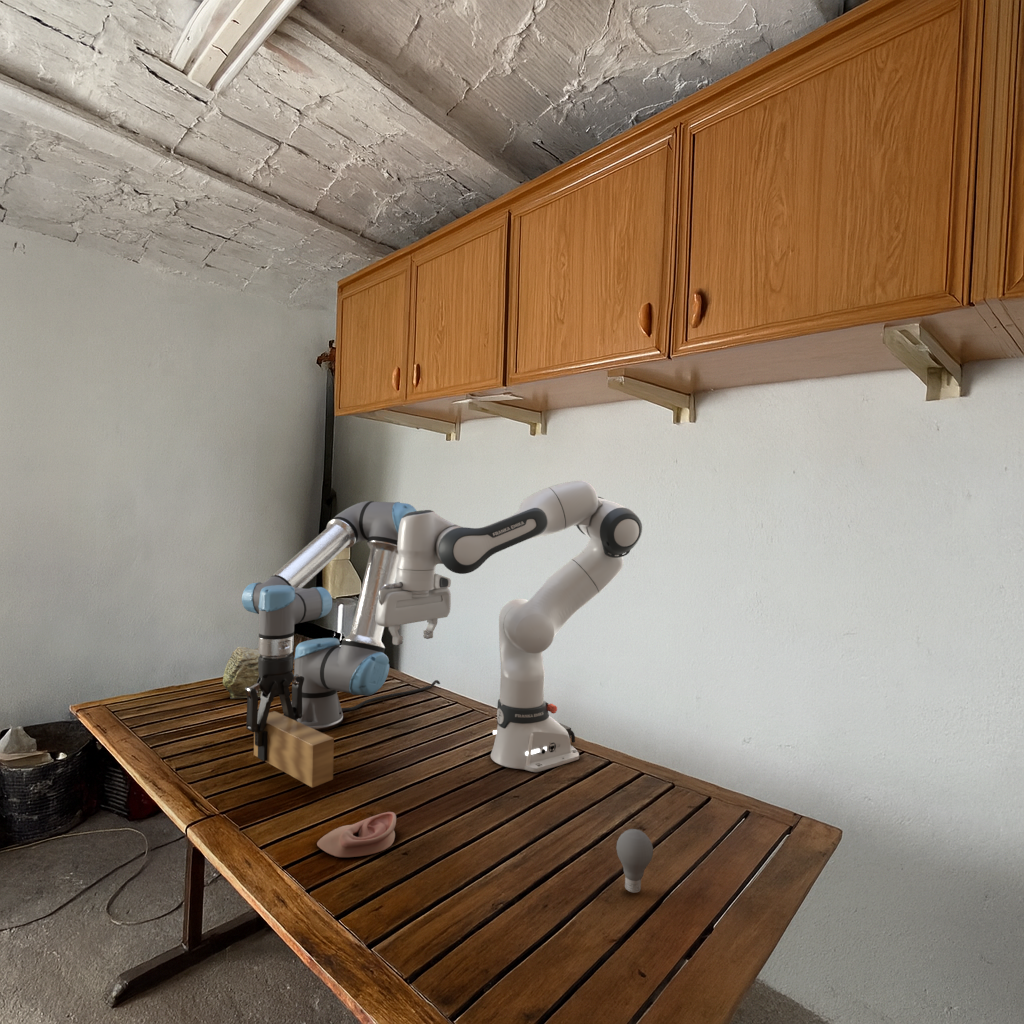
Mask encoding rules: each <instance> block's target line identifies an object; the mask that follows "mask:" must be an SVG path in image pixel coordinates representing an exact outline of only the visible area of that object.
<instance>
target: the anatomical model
mask: <svg viewBox="0 0 1024 1024" xmlns="http://www.w3.org/2000/svg"><path fill="white" fill-rule="evenodd" d="M396 824H397V814H396V813H395V812H393V811H387V812H382V813H379V814H376V815H373V816H370V817H367V818H365V819H363V820H360V821H358V822H354V823H352V824H346V825H342V826H339V827H337V828H334V829H332V830H331V831H329V832H328V833H326V834H324V835H323V836H322V837H321V838H320V839H319V840H317V842H316V845H317V847H318V848H319V849H320V850H322V851H323V852H325V853H327V854H329V855H331V856H334V857H336V858H354V857H355V858H356V857H364V856H369V855H374V854H377V853H379V852H383V851H385V850H386V849H388V848H390V847H391V846H392V845H393V844H394V842H395V838H396V832H395V827H396Z"/></svg>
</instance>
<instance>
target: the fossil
mask: <svg viewBox="0 0 1024 1024" xmlns="http://www.w3.org/2000/svg"><path fill="white" fill-rule="evenodd" d="M259 656H260V654H259V653H258V648H251V647H247V646H246V647H245V646H238V647H237V648H236V649H235V650H233V651H232V653H231V656H230V657H229V659H228V660H227V663H226V666H225V668H224V671H223V675H222V676H223V677H222V685H223V687H224V688H225V690H226V691H228V693H229V698H230V699H247V694H246V691H245V688H246V687H247V686H249V687H251V686H253V685H255V684H256V683H257V680H258V678H259V672H258V658H259ZM261 692H262V691H261V689H259V694H258V698H260V696H261Z"/></svg>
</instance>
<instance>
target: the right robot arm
mask: <svg viewBox="0 0 1024 1024" xmlns="http://www.w3.org/2000/svg"><path fill="white" fill-rule="evenodd" d="M572 527H576V528H577V529H578V530H579V532H580V533H581V534H583V535H585V536H586V537H587V538H589V539H588V541H587V544H586V546H585V547H584V548H583V549H582V550H581V551H580V552H579V553H578V554H576V555H575V556H574V557H572V558H570V559H569V560H568V561H567V562H566V563H565V564H563V565H562V566H560V567H559V569H557V570H556V571H554V572H553V573H551V575H549V576H548V577H547V578H546V579H545V581H544V583H543V584H542V585H541V587H540V588H539V589H538V590H537V591H536V592H535V594H534V595H533V596H532V597H531V598H530V599H526V598H514V599H511V600H507V602H505V603H504V604H503V606H502V607H501V608H500V611H499V614H498V636H499V637H498V638H499V639H498V640H499V642H498V643H499V661H500V681H499V699H498V700H497V708H496V723H497V724H496V725H497V727H496V730H492V735H495V736H494V737H495V738H494V743H493V746H492V749H491V752H490V759H491V760H492V761H493V762H494V763H496V764H497V765H500V766H501V767H505V768H510V769H517V770H525V771H528V772H531V773H540V772H542V771H543V772H544V771H546V770H549V769H552V768H556V767H559V766H563V765H565V764H569V763H573V762H575V761H578V760H579V759H580V753H579V751H578V750H577V749H576V748H575V747H574V746H573V745H572V744H571V743H573V744H574V743H576V735H575V733H574V731H573V730H572V727H569V726H567V725H565V724H563V723H561V722H558V721H557V720H556V719H554V718H553V717H552V716H551V715H550V713H551V714H553V715H554V714H556V713H557V712H558V706H556V705H555V704H553V703H549V702H548V701H545V700H544V697H545V679H546V678H545V676H546V670H545V666H544V658H543V656H544V655H543V652H544V651H546V650H547V649H548V648H549V647H550V646H551V645H552V643H553V641H554V638H555V637H556V636H557V634H558V633H559V632H560V631H561V630H562V629H563V628H564V627H565V625H566V624H567V623H568V622H569V620H570V619H571V618H572V617H573V616H574V615H575V614H576V613H577V612H578V611H580V610H581V609H582V608H583V607H584V606H586V605H587V604H588V603H589V602H590V601H591V600H593V599H594V598H595V597H596V596H597V595H599V594H600V593H601V592H602V591H604V589H606V587H608V586H609V585H610V584H611V583H612V582H613V581H614V580H615V578H616V577H617V576H618V575H619V574H620V572H621V571H622V570H623V568H624V563H625V562H624V557H625V556H627V555H629V554H630V552H631V550H632V549H633V548H634V547H635V546H636V545H637V544H638V542H639V540H640V539H641V536H642V534H643V523H642V521H641V519H640V517H638V515H637V514H636V513H635V512H634V511H633V510H632V509H629V508H627V507H625V506H624V505H622V504H620V503H618V502H616V501H612V500H609V499H605V498H603V497H601V496H598V493H597V491H596V489H595V487H594V486H593V485H592V484H591V483H590V482H588V481H586V480H582V479H578V480H577V479H576V480H570V481H565V482H563V483H558V484H555V485H551V486H548V487H545V488H543V489H540V490H538V491H536V492H534V493H532V494H531V495H529V496H527V497H526V498H523V500H522V501H521V503H520V505H519V508H518V510H517V511H516V512H514V514H512V515H510V516H507V517H505V518H502V519H500V520H498V521H495V522H493V523H490V524H488V525H486V526H483V527H475V528H474V527H465V526H461V525H458V524H456V523H453V522H451V521H449V520H447V519H445V518H444V517H441V516H440V515H438V514H437V513H436V512H435V511H434V510H432V509H425V510H424V509H423V510H422V509H421V510H416V511H414V512H409V513H407V514H405V515H404V516H403V517H402V519H401V521H400V525H399V531H398V543H397V550H398V554H399V559H398V563H397V569H396V578H395V583H393V584H385V585H384V586H383V587H382V588H381V589H380V590H379V598H378V602H377V607H376V615H375V621H376V623H377V624H378V625H379V626H383V627H384V628H388V632H389V633H390V635H391V637H392V641H391V643H392V645H395V646H399V645H402V644H403V640H404V637H403V636H401V635H400V633H399V630H400V627H401V626H402V625H408V624H414V623H419V622H420V623H421V622H425V621H426V623H428V624H427V626H426V628H425V629H424V630H423V636H422V638H424V639H427V640H429V639H430V640H431V639H433V638H434V631H435V630H436V628H437V625H438V621H439V620H438V619H444V618H448V616H449V615H450V613H451V606H452V605H451V604H452V595H451V594H452V593H451V590H450V588H451V585H452V579H451V578H449V577H446V576H444V575H441V574H438V573H436V567H437V566H438V565H443V566H444V567H445V568H446V569H447V570H448V571H450V572H451V573H454V574H459V575H467V574H471V573H472V572H474V571H476V570H477V569H479V568H480V567H481V566H482V565H483V564H484V563H485V562H486V561H487V560H488V559H490V558H491V557H492V556H493V555H495V554H497V553H499V552H502V551H503V550H506V549H508V548H510V547H513V546H516V545H517V544H521V543H523V542H526V541H528V540H533V539H536V538H542V537H547V536H550V535H555V534H557V533H560V532H562V531H565V530H567V529H570V528H572ZM384 588H385V589H384ZM549 712H550V713H549Z"/></svg>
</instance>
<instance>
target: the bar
mask: <svg viewBox="0 0 1024 1024" xmlns="http://www.w3.org/2000/svg"><path fill="white" fill-rule="evenodd" d="M265 731H267V732H268V745H267V761H264V762H265V763H267V764H269V765H270V766H273V767H274V768H276V769H278V770H280V771H281V772H283V773H285V774H287V775H289V776H290V777H292V778H294V779H296V780H298V781H299V782H301V783H302V784H304V785H307V786H309V787H310V788H315V787H318V786H320V785H323V784H326V783H327V782H330V781H332V780H334V757H335V755H334V754H335V753H334V752H335V738H334V737H333V736H330V735H328V734H325V733H324V732H322V731H317V730H315V729H313V728H310V727H308V726H306V725H304V724H302V723H300V722H297V721H295V720H293V719H291V718H289V717H286V716H284V714H282V713H280V712H278V711H275V710H274V711H269V714H268V718H267V722H266V726H265ZM253 756H255V757H256V758H258V746H256V745H255V732H253Z"/></svg>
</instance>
